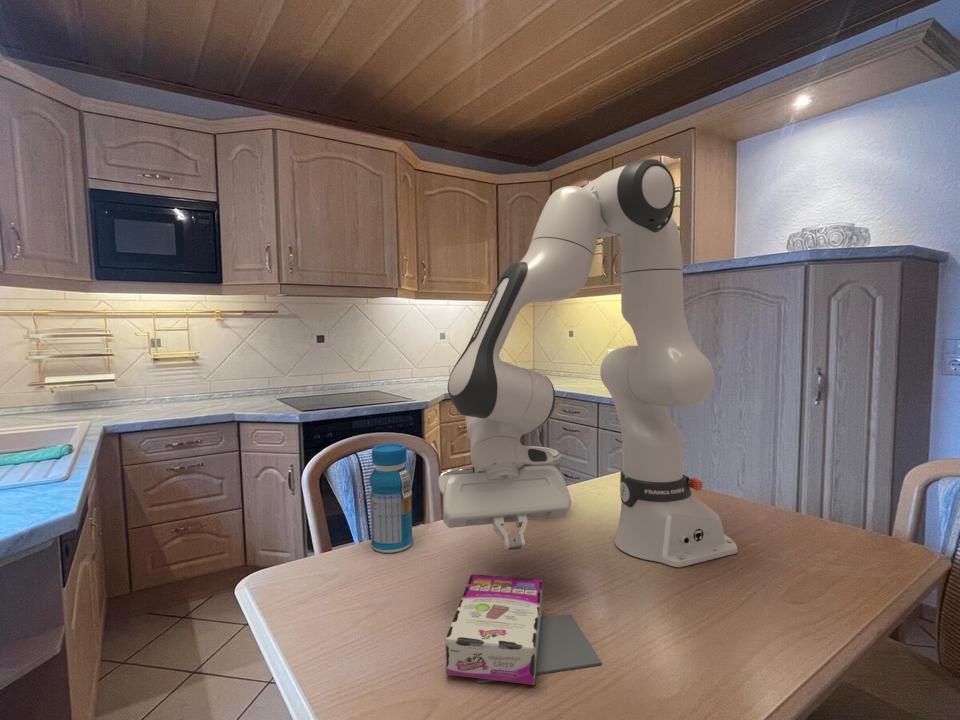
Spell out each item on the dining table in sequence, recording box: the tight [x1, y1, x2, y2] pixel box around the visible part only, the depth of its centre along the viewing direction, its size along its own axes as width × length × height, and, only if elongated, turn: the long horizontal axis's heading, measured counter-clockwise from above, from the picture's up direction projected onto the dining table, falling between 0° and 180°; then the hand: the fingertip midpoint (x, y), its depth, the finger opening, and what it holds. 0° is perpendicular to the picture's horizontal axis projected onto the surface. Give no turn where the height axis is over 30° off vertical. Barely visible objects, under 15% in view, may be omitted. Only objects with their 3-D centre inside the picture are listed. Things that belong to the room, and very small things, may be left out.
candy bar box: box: [445, 573, 543, 686], centre depth 67 cm, size 11×5×16 cm
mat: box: [476, 613, 603, 684], centre depth 67 cm, size 16×11×1 cm
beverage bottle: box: [368, 443, 414, 554], centre depth 99 cm, size 8×8×20 cm
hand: (515, 548), depth 73 cm, fingers closed
